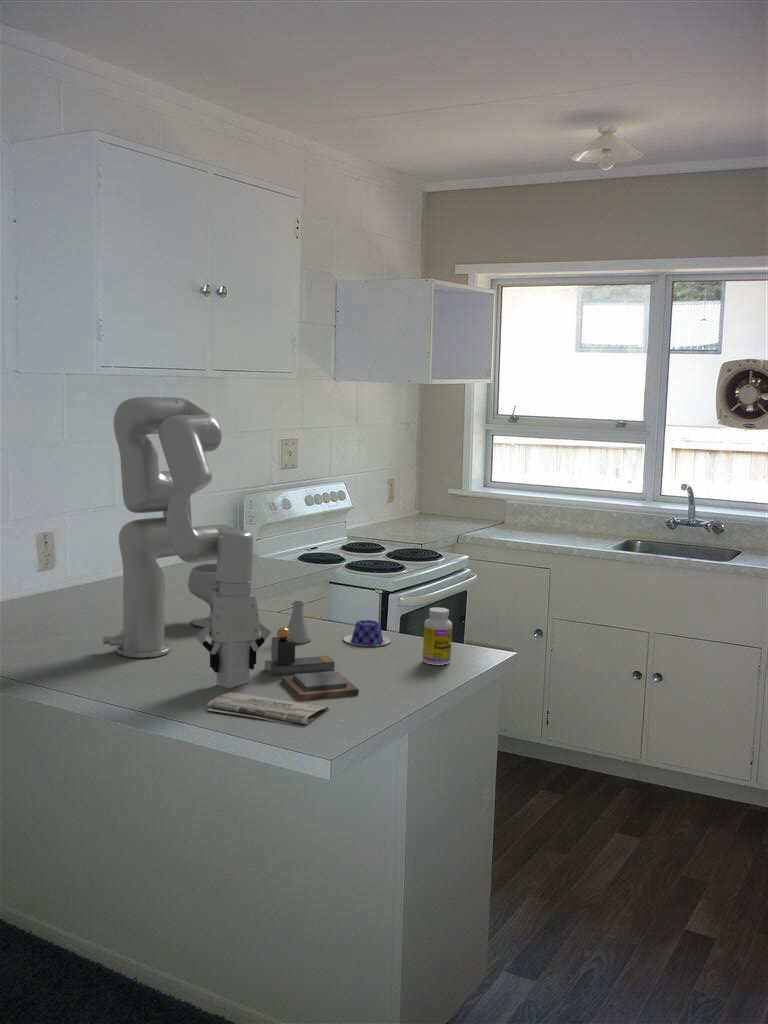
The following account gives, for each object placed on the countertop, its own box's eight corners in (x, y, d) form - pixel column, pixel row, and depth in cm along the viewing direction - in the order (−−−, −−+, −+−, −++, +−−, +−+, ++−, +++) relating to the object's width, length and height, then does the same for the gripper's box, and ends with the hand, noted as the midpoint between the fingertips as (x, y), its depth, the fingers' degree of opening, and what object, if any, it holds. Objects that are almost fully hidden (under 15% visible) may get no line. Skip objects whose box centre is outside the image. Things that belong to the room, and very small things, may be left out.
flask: (306, 645, 250) (308, 606, 248) (278, 643, 251) (279, 603, 250) (314, 638, 257) (315, 600, 255) (287, 636, 258) (288, 597, 257)
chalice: (227, 615, 277) (228, 561, 275) (249, 626, 266) (250, 570, 264) (179, 620, 270) (179, 565, 268) (200, 632, 258) (200, 574, 256)
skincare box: (236, 678, 221) (237, 625, 219) (249, 683, 218) (250, 629, 217) (215, 684, 216) (215, 630, 215) (228, 689, 214) (229, 634, 212)
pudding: (335, 638, 258) (336, 618, 258) (377, 634, 264) (378, 615, 263) (355, 650, 248) (356, 629, 247) (398, 646, 253) (399, 626, 252)
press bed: (299, 700, 208) (300, 690, 208) (281, 681, 220) (281, 672, 220) (358, 694, 213) (358, 685, 213) (337, 676, 225) (338, 667, 225)
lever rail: (270, 675, 224) (270, 666, 224) (264, 669, 229) (264, 660, 228) (334, 670, 230) (334, 661, 230) (327, 664, 234) (327, 655, 234)
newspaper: (202, 714, 199) (202, 702, 199) (232, 702, 211) (233, 690, 211) (306, 732, 191) (306, 719, 191) (332, 718, 203) (332, 706, 203)
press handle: (277, 664, 224) (278, 630, 223) (271, 658, 229) (271, 625, 228) (294, 663, 226) (295, 629, 225) (288, 657, 230) (288, 624, 229)
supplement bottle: (431, 667, 235) (433, 613, 233) (417, 660, 240) (419, 607, 239) (455, 664, 238) (458, 611, 236) (441, 657, 244) (443, 605, 242)
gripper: (197, 594, 208) (196, 677, 210) (278, 590, 214) (277, 671, 217) (189, 586, 214) (189, 667, 217) (269, 582, 221) (267, 661, 224)
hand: (233, 668), depth 217 cm, fingers closed on skincare box, 7 cm apart
